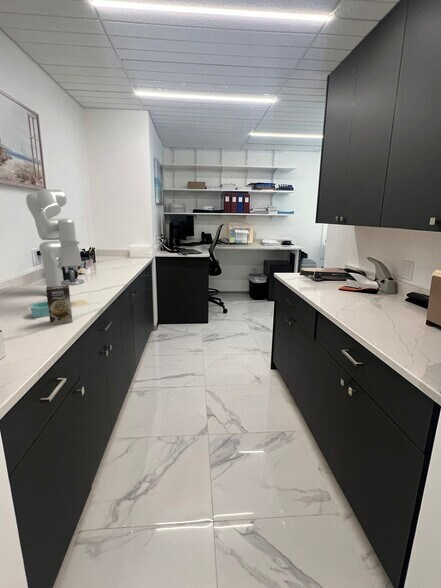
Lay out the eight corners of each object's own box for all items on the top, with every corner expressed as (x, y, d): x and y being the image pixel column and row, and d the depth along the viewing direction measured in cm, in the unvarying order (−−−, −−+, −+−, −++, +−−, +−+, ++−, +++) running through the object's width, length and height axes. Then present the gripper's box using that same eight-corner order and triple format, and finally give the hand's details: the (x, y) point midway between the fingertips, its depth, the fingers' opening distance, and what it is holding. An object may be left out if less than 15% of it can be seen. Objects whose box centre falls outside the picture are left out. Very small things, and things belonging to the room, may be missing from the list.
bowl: (30, 313, 150) (29, 304, 149) (55, 309, 157) (54, 300, 156) (34, 319, 142) (32, 309, 141) (60, 315, 148) (58, 305, 147)
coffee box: (50, 325, 135) (45, 289, 131) (50, 321, 140) (45, 286, 136) (73, 322, 139) (68, 287, 135) (72, 318, 144) (68, 284, 140)
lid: (58, 282, 164) (57, 269, 162) (81, 279, 171) (79, 267, 169) (63, 286, 156) (62, 273, 154) (86, 283, 162) (85, 270, 161)
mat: (62, 304, 167) (62, 303, 167) (83, 300, 173) (83, 299, 173) (67, 308, 158) (66, 307, 158) (89, 305, 165) (89, 304, 165)
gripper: (83, 242, 166) (86, 276, 170) (49, 244, 156) (53, 279, 161) (87, 244, 160) (90, 278, 165) (52, 245, 150) (56, 282, 155)
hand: (72, 278), depth 163 cm, fingers closed on lid, 3 cm apart
